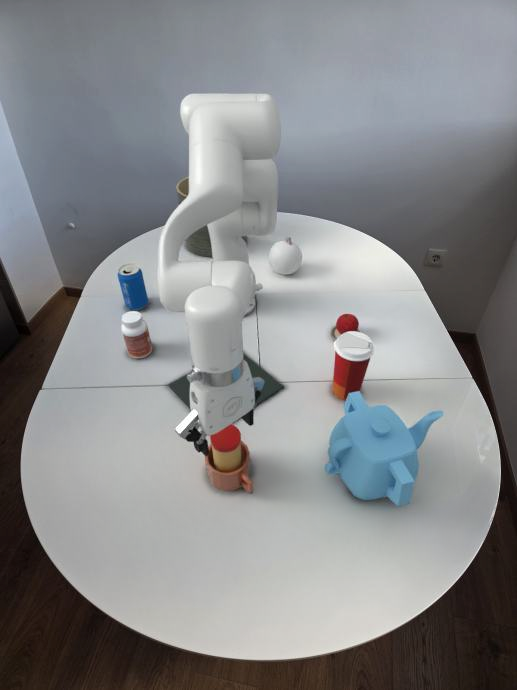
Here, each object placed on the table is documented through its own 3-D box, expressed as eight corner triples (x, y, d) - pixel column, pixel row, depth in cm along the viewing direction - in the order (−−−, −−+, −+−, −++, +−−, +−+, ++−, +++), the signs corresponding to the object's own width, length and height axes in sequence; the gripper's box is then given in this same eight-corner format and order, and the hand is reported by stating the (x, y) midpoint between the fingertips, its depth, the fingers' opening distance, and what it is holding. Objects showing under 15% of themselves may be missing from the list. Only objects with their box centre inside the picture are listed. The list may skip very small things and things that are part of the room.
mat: (235, 348, 110) (235, 346, 109) (283, 387, 100) (283, 386, 99) (168, 386, 100) (168, 384, 100) (214, 434, 90) (213, 432, 90)
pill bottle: (156, 353, 108) (148, 318, 101) (133, 362, 106) (123, 328, 99) (147, 339, 112) (138, 305, 105) (124, 348, 110) (114, 314, 102)
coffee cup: (366, 382, 101) (377, 334, 90) (360, 408, 95) (372, 359, 85) (331, 374, 103) (338, 326, 93) (323, 399, 97) (330, 350, 87)
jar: (231, 453, 86) (228, 418, 79) (248, 471, 83) (247, 437, 76) (209, 468, 83) (204, 434, 76) (226, 488, 80) (222, 454, 73)
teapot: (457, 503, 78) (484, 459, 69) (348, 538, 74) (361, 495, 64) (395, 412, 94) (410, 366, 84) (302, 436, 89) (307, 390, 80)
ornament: (306, 269, 137) (309, 234, 129) (290, 284, 131) (292, 249, 123) (278, 260, 142) (280, 226, 134) (262, 274, 135) (262, 240, 127)
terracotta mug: (199, 469, 84) (196, 453, 80) (232, 446, 88) (231, 429, 84) (234, 511, 77) (233, 495, 74) (268, 484, 81) (269, 468, 78)
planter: (246, 226, 160) (244, 171, 146) (248, 256, 143) (247, 198, 130) (186, 228, 159) (178, 173, 145) (182, 259, 142) (173, 200, 129)
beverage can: (121, 308, 122) (111, 272, 114) (134, 296, 127) (125, 260, 119) (140, 314, 121) (131, 277, 113) (153, 301, 125) (145, 265, 117)
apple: (325, 339, 112) (328, 319, 108) (336, 322, 117) (339, 303, 113) (355, 349, 109) (359, 329, 105) (364, 331, 114) (368, 311, 110)
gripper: (183, 409, 58) (196, 478, 69) (278, 351, 66) (276, 422, 77) (154, 378, 62) (171, 448, 73) (247, 328, 70) (249, 398, 82)
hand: (225, 435), depth 75 cm, fingers open, 9 cm apart
